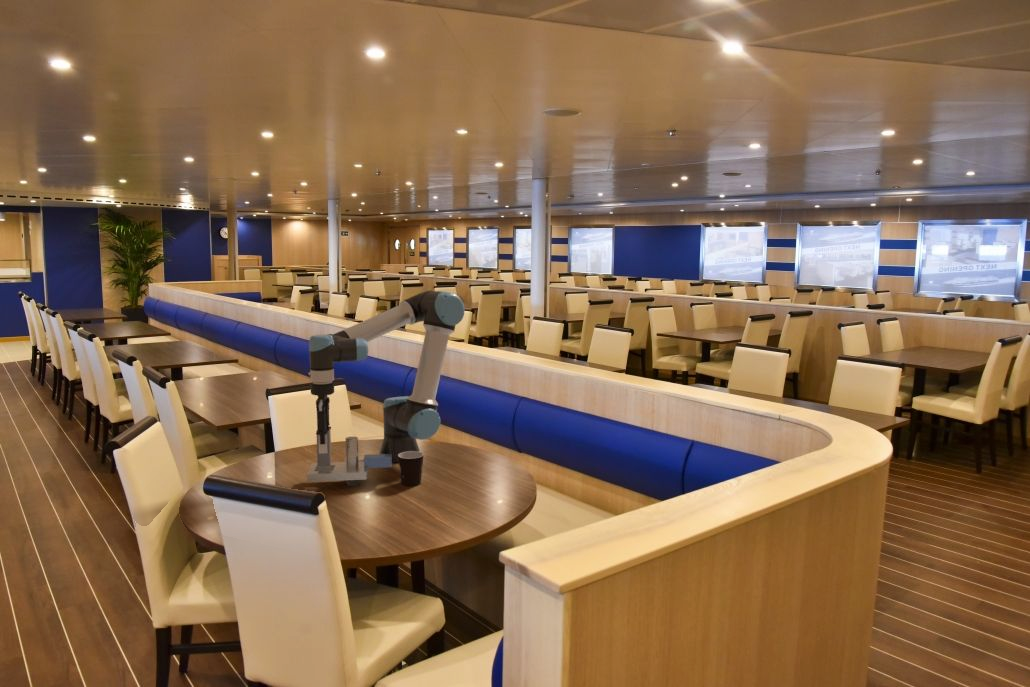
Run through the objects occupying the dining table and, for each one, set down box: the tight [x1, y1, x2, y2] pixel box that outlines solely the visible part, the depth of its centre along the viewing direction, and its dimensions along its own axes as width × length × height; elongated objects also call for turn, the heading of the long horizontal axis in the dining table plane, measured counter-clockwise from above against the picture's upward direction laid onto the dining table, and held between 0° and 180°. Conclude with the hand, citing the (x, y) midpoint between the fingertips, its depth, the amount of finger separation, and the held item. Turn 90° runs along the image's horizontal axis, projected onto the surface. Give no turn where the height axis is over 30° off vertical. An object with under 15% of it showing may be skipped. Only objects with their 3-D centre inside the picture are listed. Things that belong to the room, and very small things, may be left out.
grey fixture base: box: [306, 436, 393, 487], centre depth 235 cm, size 27×12×16 cm, turn 98°
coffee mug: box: [398, 451, 425, 488], centre depth 238 cm, size 12×9×10 cm
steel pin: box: [315, 428, 332, 467], centre depth 233 cm, size 4×4×12 cm
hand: (324, 450), depth 233 cm, fingers closed on steel pin, 4 cm apart
